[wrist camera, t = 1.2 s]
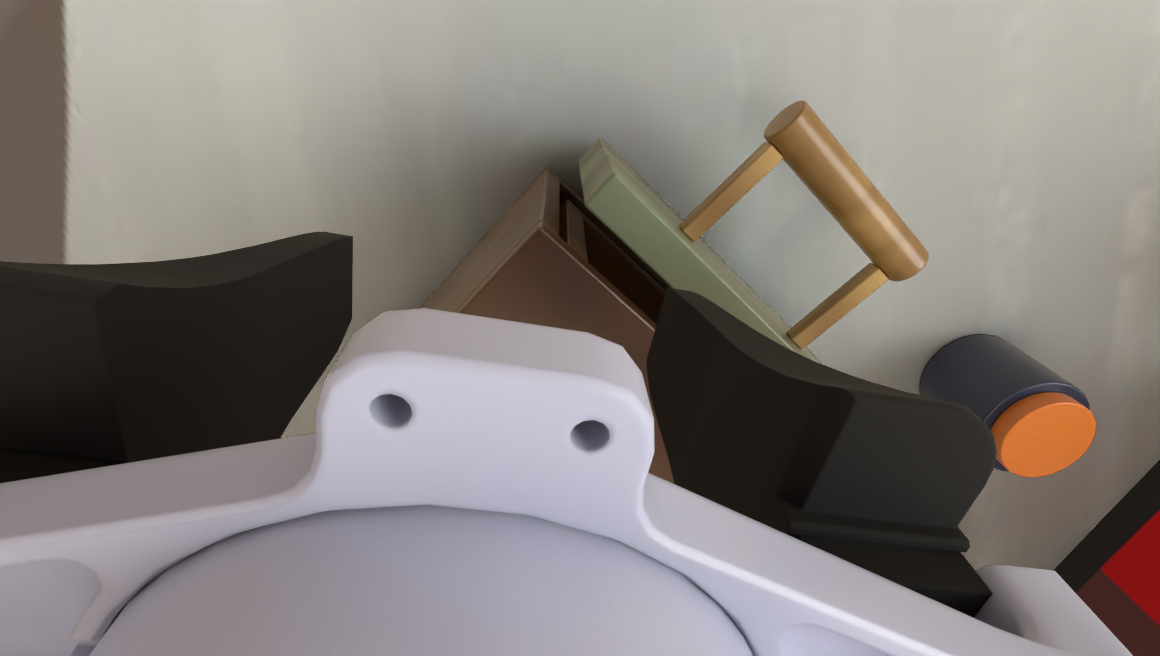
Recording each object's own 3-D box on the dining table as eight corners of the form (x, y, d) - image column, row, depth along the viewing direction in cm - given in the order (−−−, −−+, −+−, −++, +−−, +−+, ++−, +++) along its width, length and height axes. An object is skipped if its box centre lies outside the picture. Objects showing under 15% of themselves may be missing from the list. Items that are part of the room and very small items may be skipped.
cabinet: (547, 166, 22) (540, 226, 15) (764, 370, 26) (844, 499, 19) (337, 399, 26) (247, 539, 19) (552, 542, 31) (549, 703, 23)
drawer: (701, 26, 19) (763, 15, 13) (898, 260, 23) (1015, 333, 17) (384, 371, 25) (326, 474, 19) (586, 514, 29) (593, 637, 23)
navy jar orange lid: (1032, 373, 27) (1127, 438, 22) (950, 430, 28) (1023, 502, 24) (985, 315, 25) (1076, 372, 21) (901, 378, 27) (969, 444, 22)
